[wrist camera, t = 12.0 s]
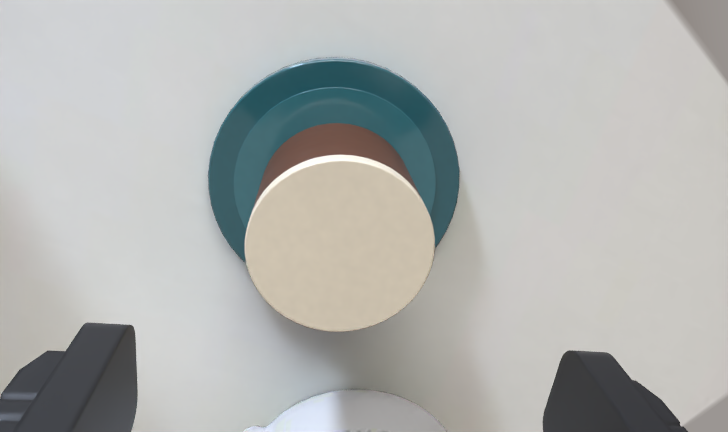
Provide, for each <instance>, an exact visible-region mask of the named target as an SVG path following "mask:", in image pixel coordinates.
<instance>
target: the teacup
mask: <svg viewBox="0 0 728 432" xmlns="http://www.w3.org/2000/svg"><path fill="white" fill-rule="evenodd" d="M243 432H447V430H446V429H445V428H444V426H443V425H442V424H441V423H440V422H439V421H438V420H437V419H436V418H435V417H434V416H432V415H431V414H430V413H429V412H427V411H426V410H425V409H423V408H422V407H420V406H418V405H417V404H415V403H413V402H411V401H409V400H407V399H404V398H402V397H399V396H396V395H394V394H390V393H386V392H380V391H375V390H365V389H351V390H339V391H333V392H328V393H323V394H320V395H317V396H314V397H311V398H308V399H306V400H304V401H302V402H300V403H298V404H296V405H294V406H292V407H291V408H289V409H288V410H286V411H284V412H283V413H282V414H281V415H279V416H278V417H277V418H276V419H274V420H273V421H272V422H271V423H270V424H269V425H268V426H267V427H260V426H252V427H249V428H247V429H246V430H245V431H243Z"/></svg>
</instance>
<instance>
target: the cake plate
mask: <svg viewBox="0 0 728 432" xmlns="http://www.w3.org/2000/svg"><path fill="white" fill-rule="evenodd" d="M329 123H343V124H351V125H356V126H359V127H362V128H365V129H368V130H370V131H372V132H374V133H376V134H377V135H379V136H380V137H382V138H383V139H385V140H386V141H387V142H388V143H389V144H390V145H391V146H392V147H393V148H394V149H395V150H396V151H397V153H398V154H399V155H400V157H401V159H402V160H403V162H404V164H405V166H406V168H407V170H408V172H409V174H410V176H411V178H412V180H413V182H414V184H415V186H416V188H417V190H418V192H419V194H420V196H421V198H422V200H423V202H424V204H425V206H426V208H427V211H428V213H429V215H430V218H431V221H432V225H433V229H434V236H435V247H436V246H437V245H438V244H439V242H440V240H441V239H442V237H443V235H444V234H445V232H446V230H447V228H448V226H449V224H450V221H451V219H452V217H453V214H454V210H455V207H456V203H457V198H458V191H459V164H458V156H457V152H456V148H455V145H454V141H453V138H452V136H451V134H450V131H449V129H448V127H447V125H446V123H445V121H444V120H443V118H442V116H441V115H440V113H439V112H438V110H437V109H436V108H435V107H434V105H433V104H432V103H431V102H430V100H429V99H428V98H427V97H426V96H425V95H424V94H423V93H422V92H421V91H420V90H418V89H417V88H416V87H415V86H414V85H413V84H412V83H410V82H409V81H407V80H406V79H405V78H403V77H402V76H400V75H398V74H396V73H395V72H393V71H391V70H389V69H387V68H385V67H382V66H379V65H377V64H374V63H371V62H368V61H363V60H358V59H354V58H343V57H326V58H315V59H310V60H305V61H300V62H297V63H294V64H291V65H289V66H286V67H283V68H281V69H279V70H277V71H275V72H273V73H271V74H269V75H268V76H266V77H265V78H263V79H262V80H261V81H259V82H258V83H256V84H255V85H254V86H253V87H252V88H250V89H249V90H248V91H247V92H246V93H245V94H244V95H243V96H242V97H241V98H240V100H239V101H238V102H237V103H236V104H235V106H234V107H233V108H232V109H231V111H230V112H229V114H228V115H227V117H226V119H225V120H224V122H223V124H222V125H221V127H220V129H219V132H218V134H217V136H216V139H215V141H214V145H213V148H212V152H211V156H210V163H209V171H208V185H209V195H210V201H211V206H212V209H213V212H214V215H215V219H216V221H217V223H218V225H219V228H220V230H221V232H222V234H223V235H224V237H225V239H226V240H227V242H228V243H229V245H230V246H231V248H232V249H233V250H234V251H235V252H236V254H237V255H238V256H239V257H240V258H241V259H242V260H243V261H244V262H245V263H246V259H245V235H246V229H247V226H248V222H249V219H250V216H251V213H252V210H253V207H254V203H255V200H256V197H257V194H258V191H259V187H260V184H261V181H262V178H263V175H264V171H265V169H266V167H267V165H268V163H269V161H270V159H271V158H272V156H273V155H274V153H275V152H276V151H277V150H278V148H279V147H280V146H281V145H282V144H283V143H285V142H286V141H287V140H288V139H289V138H291V137H292V136H294V135H295V134H297V133H299V132H301V131H303V130H305V129H308V128H311V127H314V126H317V125H322V124H329Z"/></svg>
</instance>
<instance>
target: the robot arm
mask: <svg viewBox="0 0 728 432" xmlns="http://www.w3.org/2000/svg"><path fill="white" fill-rule="evenodd" d="M136 408H137V369H136V342H135V331H134V327H133V326H132V325H121V324H103V323H85V324H84V325H83V326H82V328H81V329H80V330H79V332H78V333H77V335H76V336H75V338H74V339H73V341H72V342H71V344H70V345H69V347H68V348H67V350H66V351H47V352H45V353H44V354H42V355H41V356H39V357H38V358H36V359H35V360H33V361H32V362H30V363H29V364H28V365H26V366H25V367H23V368H22V369H20V370H19V371H18V373H17V374H16V375H15V377H14V378H13V379H12V381H11V382H10V383H9V385H8V386H7V387H6V388H5V390H4V391H3V392H2V394H1V398H0V432H131V430H132V427H133V423H134V419H135V414H136ZM543 432H688V431H687V430H686V429H685V428H684V427H681V426H680V422H679V420H678V419H677V418H676V417H675V416H674V414H673V413H672V412H671V411H670V410H669V408H668V407H667V406H666V405H665V404H664V402H663V401H662V400H661V399H659V398H658V397H657V396H655V395H654V394H653V393H652V392H650V391H649V390H648V389H646V388H645V387H644V386H642V385H641V384H640V383H638V382H637V381H634V380H631V378H630V377H629V376H628V375H627V373H626V372H625V371H624V370H623V368H622V367H621V366H620V365H619V363H618V362H617V361H616V360H615V358H614V357H613V356H612V355H610V354H609V353H605V352H587V351H567V352H566V353H565V354H564V355H563V356H562V358H561V361H560V364H559V367H558V370H557V373H556V377H555V380H554V383H553V386H552V389H551V392H550V395H549V398H548V401H547V405H546V408H545V411H544V416H543Z"/></svg>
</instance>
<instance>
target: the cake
mask: <svg viewBox="0 0 728 432" xmlns="http://www.w3.org/2000/svg"><path fill="white" fill-rule="evenodd" d="M434 252H435V236H434V229H433V225H432V221H431V218H430V215H429V213H428V211H427V208H426V206H425V204H424V202H423V200H422V198H421V196H420V194H419V192H418V190H417V188H416V186H415V184H414V182H413V180H412V178H411V176H410V174H409V172H408V170H407V168H406V166H405V164H404V162H403V160H402V159H401V157H400V155H399V154H398V153H397V151H396V150H395V149H394V148H393V147H392V146H391V145H390V144H389V143H388V142H387V141H386V140H385V139H383V138H382V137H380V136H379V135H377V134H376V133H374V132H372V131H370V130H368V129H365V128H362V127H359V126H356V125H351V124H343V123H329V124H322V125H317V126H314V127H311V128H308V129H305V130H303V131H301V132H299V133H297V134H295V135H294V136H292V137H291V138H289V139H288V140H287V141H286V142H285V143H283V144H282V145H281V146H280V147H279V148H278V150H277V151H276V152H275V153H274V155H273V156H272V158H271V159H270V161H269V163H268V165H267V167H266V169H265V171H264V175H263V178H262V181H261V184H260V187H259V191H258V194H257V197H256V200H255V203H254V207H253V210H252V213H251V216H250V219H249V222H248V226H247V229H246V235H245V259H246V264H247V268H248V271H249V274H250V277H251V279H252V281H253V283H254V285H255V287H256V288H257V290H258V291H259V293H260V294H261V296H262V297H263V298H264V299H265V300H266V302H267V303H268V304H269V305H270V306H272V307H273V308H274V309H275V310H276V311H277V312H279V313H280V314H282V315H283V316H284V317H286V318H288V319H290V320H291V321H293V322H295V323H298V324H300V325H303V326H305V327H309V328H313V329H316V330H323V331H332V332H344V331H354V330H359V329H364V328H367V327H370V326H374V325H376V324H378V323H381V322H383V321H385V320H387V319H389V318H390V317H392V316H394V315H395V314H397V313H398V312H399V311H401V310H402V309H403V308H405V307H406V306H407V305H408V304H409V303H410V302H411V301H412V300H413V299H414V297H415V296H416V295H417V294H418V292H419V291H420V289H421V288H422V286H423V285H424V283H425V281H426V279H427V277H428V275H429V272H430V270H431V266H432V263H433V258H434Z"/></svg>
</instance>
